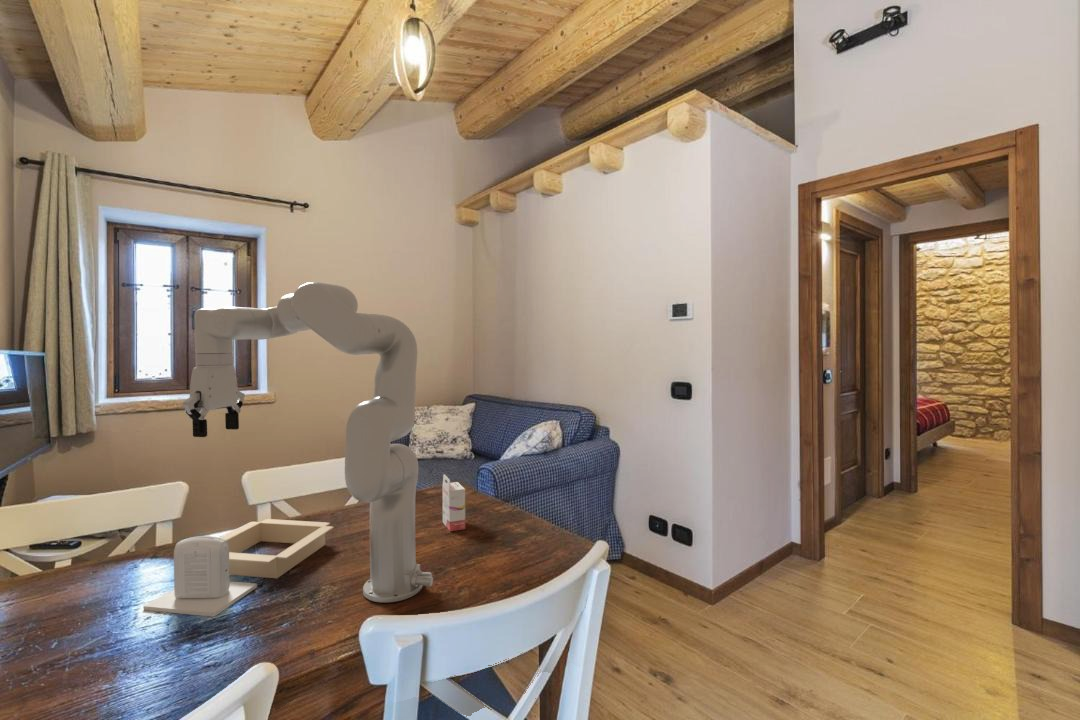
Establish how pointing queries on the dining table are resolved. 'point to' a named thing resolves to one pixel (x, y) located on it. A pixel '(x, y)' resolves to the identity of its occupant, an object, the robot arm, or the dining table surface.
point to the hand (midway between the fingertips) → (216, 432)
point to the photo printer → (201, 567)
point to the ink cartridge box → (453, 505)
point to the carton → (273, 530)
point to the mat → (200, 601)
